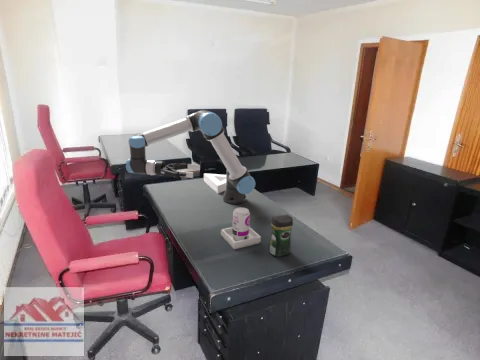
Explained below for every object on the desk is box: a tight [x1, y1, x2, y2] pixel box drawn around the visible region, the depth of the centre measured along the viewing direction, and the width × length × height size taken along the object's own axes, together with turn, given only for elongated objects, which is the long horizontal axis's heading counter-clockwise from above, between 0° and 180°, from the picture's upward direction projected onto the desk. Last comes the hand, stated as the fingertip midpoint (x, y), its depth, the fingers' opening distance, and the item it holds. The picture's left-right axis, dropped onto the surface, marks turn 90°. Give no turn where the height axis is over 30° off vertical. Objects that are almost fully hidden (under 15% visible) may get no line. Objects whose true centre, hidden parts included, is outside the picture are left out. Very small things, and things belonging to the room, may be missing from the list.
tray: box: [220, 226, 262, 250], centre depth 154 cm, size 15×15×4 cm
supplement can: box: [231, 207, 251, 241], centre depth 151 cm, size 8×8×15 cm
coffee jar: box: [268, 213, 294, 257], centre depth 141 cm, size 10×8×19 cm
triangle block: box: [203, 173, 226, 194], centre depth 224 cm, size 30×26×6 cm
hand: (196, 171), depth 158 cm, fingers open, 13 cm apart
